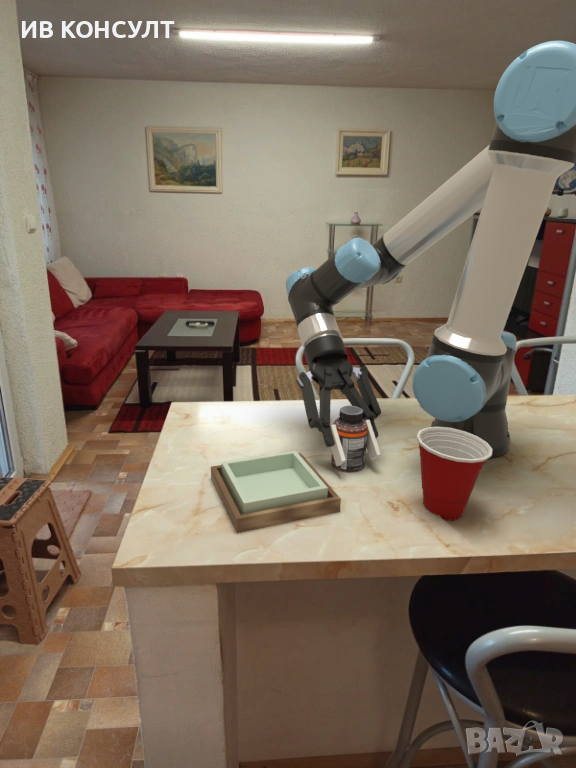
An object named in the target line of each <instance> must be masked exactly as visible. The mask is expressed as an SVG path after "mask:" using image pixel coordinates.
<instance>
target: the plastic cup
mask: <svg viewBox="0 0 576 768" xmlns="http://www.w3.org/2000/svg"><path fill="white" fill-rule="evenodd" d="M416 440H417V441H418V450H419V457H420V458H419V459H420V476H421V477H420V478H421V489H422V502H423V503H422V504H423V506H424V508H425V509H426V510H427V511H428V512H430V513H432V514H434V515H436V516H439V517H440V518H441V519H442V520H443V521H455V520H459V519H460V518H461V517H462V516H463V514H464V512H465V509H466V506H467V504H468V502H469V501H468V500H469V499H470V497H471V494H472V492H473V490H474V487H475V484H476V482H477V479H478V476H479V475H480V472H481V470H483V469H482V468H483V466H484V465H485V464H486V462H487V460H488V459H491V458H490V457H491V455H492V448H491V447H490V445H489V444H488V443H487V442H486V441H484V440H482V439H481V438H479V437H478V436H475V435H473V434H470V433H468V432H465V431H462V430H458V429H453V428H447V427H431V426H430V427H424V428H422V429H420V430H418V432H417V435H416Z"/></svg>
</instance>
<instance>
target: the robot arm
mask: <svg viewBox="0 0 576 768" xmlns="http://www.w3.org/2000/svg"><path fill="white" fill-rule="evenodd" d="M493 115H494V119H495V125H494V129H493V133H492V136H491V140H490V143H489V144H488V146H486V147H485V148H484V149H483V150H481V151H480V152H479V153H478V154H477V155H476V156H475V157H473V158H472V159H471V160H470V161H469V162H467V163H466V164H465V165H464V166H463V167H462V168H460V169H459V170H458V171H457V172H455V173H454V174H453V175H452V176H451V177H450V178H448V179H447V180H446V181H445V182H443V184H441V185H440V186H439V187H438V188H437V189H436V190H435V191H433V192H432V193H431V194H430V195H428V197H426V198H425V199H424V200H422V201H421V202H420V203H419V204H418V205H417V206H415V208H413V209H412V210H411V211H410V212H408V214H406V215H405V216H403V218H401V219H400V220H399V221H398V222H397V223H396V224H394V225H393V226H391V228H390V229H388V231H386V232H385V233H384V234H383V235H382V236H381V237H379V238H378V239H377V240H376V241H374V243H372V244H371V243H370V242H369V241H367V240H365V239H363V238H362V237H354V238H352V239H350V240H349V241H348V242H346V243H345V244H343V245H342V246H340V247H339V248H338V249H337V250H336V251H335V252H334V253H333V254H332V255H330V257H329V258H327V259H326V261H324V262H323V263H321V265H320V266H319V267H318V268H314V267H310V266H307V267H301V268H299V270H295V271H293V272H291V273H290V274H289V275H288V277H287V279H286V281H285V290H286V293H287V300H288V301H287V302H288V303H289V306H290V309H291V311H292V314H293V317H294V321H295V323H296V324H295V325H296V329H297V332H298V335H299V339H300V343H301V345H302V347H303V353H304V357H305V360H306V363H307V366H308V371H307V372H304V371H302V372H300V373H299V374H298V376H297V378H296V381H295V382H296V384H297V386H298V387H299V389H300V391H301V394H302V395H301V396H302V401H303V404H304V409H305V413H306V418H307V423H308V427H309V428H310V429H317V431H318V432H320V433H321V435H322V438H323V441H324V444H325V446H326V447H327V448H330V449H331V454H332V453H333V457H334V460H335V463H336V466H340V465H342V464H343V463H344V462H345V461H346V459H345V455H344V452H343V449H342V445H341V442H340V439H339V435H338V432H337V429H336V425H333V424H331V403H332V402H331V400H332V399H331V394H332V393H331V392H332V390H337V391H338V390H339V391H340V393H341V394H342V395H344V396H345V398H346V399H347V401H348V402H349V403H350V406H356V407H359V408H361V409H362V410H363V418H362V419H363V420H365V421H366V423H367V426H368V431H367V445H366V451H367V453H368V456H369V459H370V461H374V460H376V459H377V458H379V457H380V456H381V455H382V454H381V451H380V447H379V444H378V442H377V439H378V437H379V433H378V429H377V427H376V423H375V420H376V419H377V418H378V417H380V416H381V414H382V410H381V406H380V404H379V402H378V399H377V397H376V394H375V392H374V389H373V387H372V385H371V382H370V380H369V379H370V378H369V376H368V374H369V373H368V367H366V366H365V365H361V367H355V366H353V364H352V363H351V362H350V361H349V359H348V353H347V349H346V347H345V343H344V340H343V338H342V333H341V331H340V328H339V326H338V323H337V320H336V317H335V313H334V309H333V307H335V306H336V305H337V304H339V303H340V302H341V301H342V300H344V299H345V298H346V297H348V296H349V295H351V294H352V293H353V292H355V291H356V290H361V289H365V288H369V287H373V286H377V285H378V286H379V285H385V284H388V283H390V282H391V281H393V280H394V281H395V279H396V278H398V276H400V274H401V273H402V270H403V269H405V267H406V266H408V265H409V264H411V262H413V261H414V260H415V259H417V258H418V257H419V256H420V255H422V254H423V253H424V252H426V251H427V250H429V249H430V248H431V247H432V246H433V245H435V244H436V243H438V242H439V241H440V240H441V239H443V238H444V237H445V236H447V235H448V234H449V233H450V232H452V231H454V229H456V228H457V227H459V226H460V225H461V224H463V223H464V222H465V221H466V220H467V219H469V218H470V217H472V216H473V215H474V214H475V213H476V212H478V211H479V210H480V213H479V216H478V220H477V224H476V227H475V230H474V234H473V237H472V239H471V243H470V246H469V249H468V252H467V256H466V258H465V263H464V265H463V266H464V267H463V270H462V273H461V275H460V276H461V277H460V279H459V282H458V285H457V289H456V293H455V296H454V300H453V302H452V306H451V309H450V312H449V316H448V318H447V322H446V323H444V324H443V325H441V326H439V327H437V328H435V330H434V333H433V336H432V339H431V342H430V346H429V349H428V352H427V356H426V358H425V359H423V360H422V361H421V362H420V364H419V365H418V366H417V367H416V369H415V370H414V373H413V376H412V386H411V387H412V392H413V395H414V397H415V399H416V401H417V403H418V405H419V406H420V407H421V409H422V410H423V411H424V412H425V413H426V414H428V415H429V416H431V417H433V418H434V420H433V421H431V424H430V427H447V428H453V429H458V430H462V431H465V432H468V433H470V434H473V435H475V436H478V437H479V438H481V439H482V440H484V441H486V442H487V443H488V444H489V445H490V447H491V448H492V455H491V457H490V458H489V459H492V458H498V457H501V456H503V455H505V454H506V453H508V452H509V449H510V445H511V433H509V424H508V417H507V414H506V410H507V409H506V407H507V402H508V396H509V390H510V385H511V384H510V383H511V378H512V373H513V367H514V361H515V356H516V355H515V354H516V353H517V337H516V336H515V334H514V333H511V332H508V331H505V330H504V329H505V326H506V324H507V320H508V318H509V315H510V313H511V310H512V307H513V304H514V301H515V298H516V296H517V292H518V290H519V287H520V283H521V281H522V279H523V276H524V273H525V270H526V267H527V266H528V265H527V264H528V261H529V259H530V256H531V254H532V250H533V248H534V244H535V241H536V238H537V236H538V234H539V231H540V228H541V225H542V222H543V219H544V217H545V213H546V211H547V208H548V205H549V202H550V199H551V197H552V194H553V191H554V189H555V185H556V182H557V180H558V178H560V176H562V175H563V174H564V173H566V172H567V171H569V170H571V169H572V168H574V166H575V164H576V43H573V42H570V41H566V40H550V41H546V42H541V43H539V44H536V45H534V46H532V47H529V49H527V50H525V51H524V52H522V53H521V54H520V55H519V56H518V57H516V58H515V59H514V60H513V61H512V62H511V63H510V64H509V65H508V66H507V68H506V69H505V70H504V72H503V73H502V75H501V77H500V79H499V81H498V83H497V86H496V89H495V92H494V97H493ZM352 376H353V379H354V381H356V385H357V387H358V390H357V387H356V386H355V382H354V381H353V379H352V378H351V377H352ZM312 381H313V382H315V383H316V384H317V385H318V388H319V389H318V395H319V409H318V405H317V402H316V397H315V393H314V387H313V385H312ZM318 410H319V411H318Z"/></svg>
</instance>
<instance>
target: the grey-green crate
mask: <svg viewBox="0 0 576 768" xmlns="http://www.w3.org/2000/svg"><path fill="white" fill-rule="evenodd" d="M298 453H299V452H297V450H292V451H291V450H290V451H285V452H278V453H272V454H265V455H260V456H253V457H247V458H240V459H234V460H233V459H232V460H226V461H222V462H221V465H222V480H223V482H224V483H225V485H226V487H227V489H228V491H229V493H230V495H231V497H232V499H233V501H234V503H235V505H236V507H237V509H238V511H239V513H240V515H243V514H248V513H254V512H259V511H264V510H269V509H274V508H279V507H284V506H289V505H295V504H300V503H305V502H310V501H315V500H320V499H325V498H327V494H328V487H327V486H326V485H325V484H324V483H323V482H322V480H321V479H320V478H319V477H318V476H317V475H316V474H315V472H314V471H313V470H312V469H311V468H310V467H309V465H308V464H307V463H306V462H305V461H304V460H303V459H302V457H301V456H300V455H299V454H298Z"/></svg>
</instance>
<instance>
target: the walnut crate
mask: <svg viewBox="0 0 576 768" xmlns="http://www.w3.org/2000/svg"><path fill="white" fill-rule="evenodd" d="M297 453H298V454H299V455H300V456H301V457H302V459H303V460H304V461H305V462H306V463H307V464H308V465H309V467H310V468H311V469H312V470H313V471H314V472H315V474H316V475H317V476H318V477H319V478H320V479H321V480H322V482H323V483H324V484H325V485H326V486H327V487H328V494H327V498H325V499H320V500H315V501H310V502H305V503H300V504H295V505H289V506H284V507H279V508H274V509H269V510H264V511H259V512H254V513H248V514H243V515H240V513H239V511H238V509H237V507H236V505H235V503H234V501H233V499H232V497H231V495H230V493H229V491H228V489H227V487H226V485H225V483H224V482H223V480H222V464H219V465H213V466H210V479H211V481H212V484H213V485H214V487H215V491H216V492H217V495H218V496H219V498H220V500H221V502H222V504H223V507H224V509H225V511H226V513H227V515H228V517H229V519H230V520H229V521H230V522H231V523H232V526H233V528H234V530H235V532H236V533H237V534H238V533H243V532H249V531H254V530H259V529H264V528H269V527H273V526H278V525H282V524H287V523H288V524H289V523H292V522H297V521H301V520H307V519H310V518H316V517H321V516H326V515H330V514H336V513H340V512H341V504H342V503H341V502H342V501H341V500H342V498H341V497H340V495H338V494H337V492H336V491H335V490H334V489H333V488H332V487H331V486H330V485H329V484H328V482H327V481H326V480H325V479H324V478H323V476H321V474H320V473H319V472H318V470H316V468H315V467H314V466H313V465H312V464H311V463H310V461H309V460H308V459H307V458H306V457H305V456H304V455H303V453H302V452H297Z"/></svg>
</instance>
